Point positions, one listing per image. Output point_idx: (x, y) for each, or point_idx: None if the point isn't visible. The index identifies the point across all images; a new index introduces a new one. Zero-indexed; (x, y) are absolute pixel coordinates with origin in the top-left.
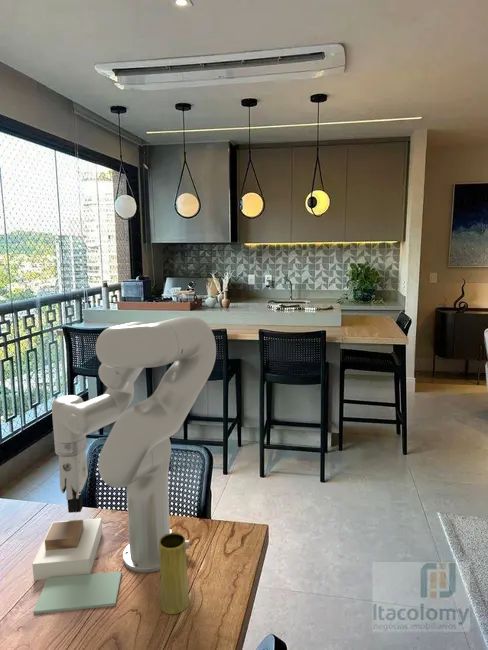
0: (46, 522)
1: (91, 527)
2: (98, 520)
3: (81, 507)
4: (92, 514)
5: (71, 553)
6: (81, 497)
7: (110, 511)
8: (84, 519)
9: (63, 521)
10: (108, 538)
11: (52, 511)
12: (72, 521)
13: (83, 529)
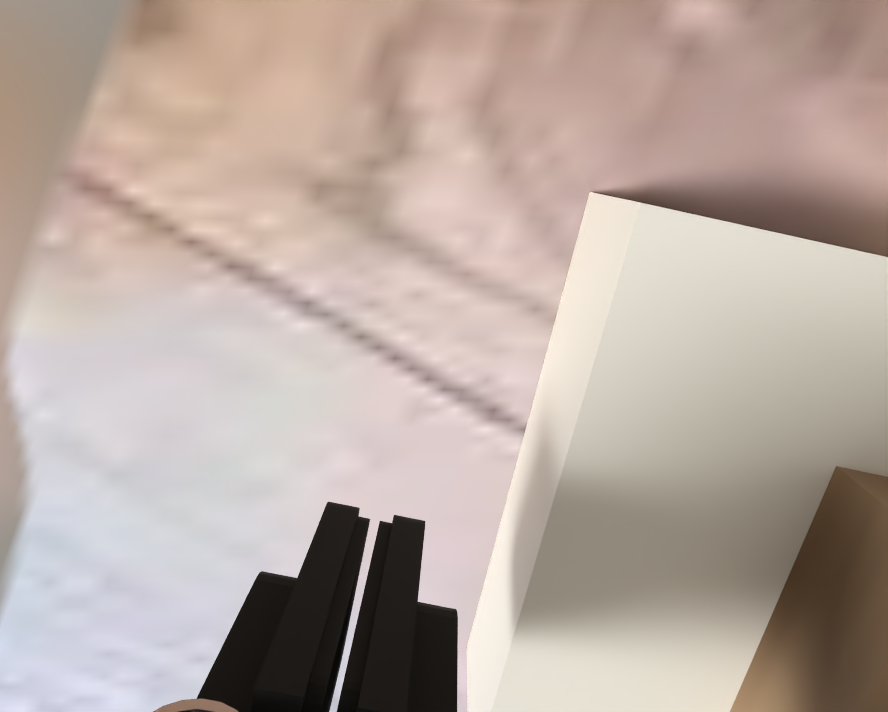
0: None
1: (842, 361)
2: (691, 251)
3: (352, 525)
4: (163, 291)
5: None
6: (295, 642)
7: (142, 60)
8: (574, 449)
9: (512, 687)
10: (750, 123)
11: (18, 666)
12: (881, 697)
13: (842, 468)
